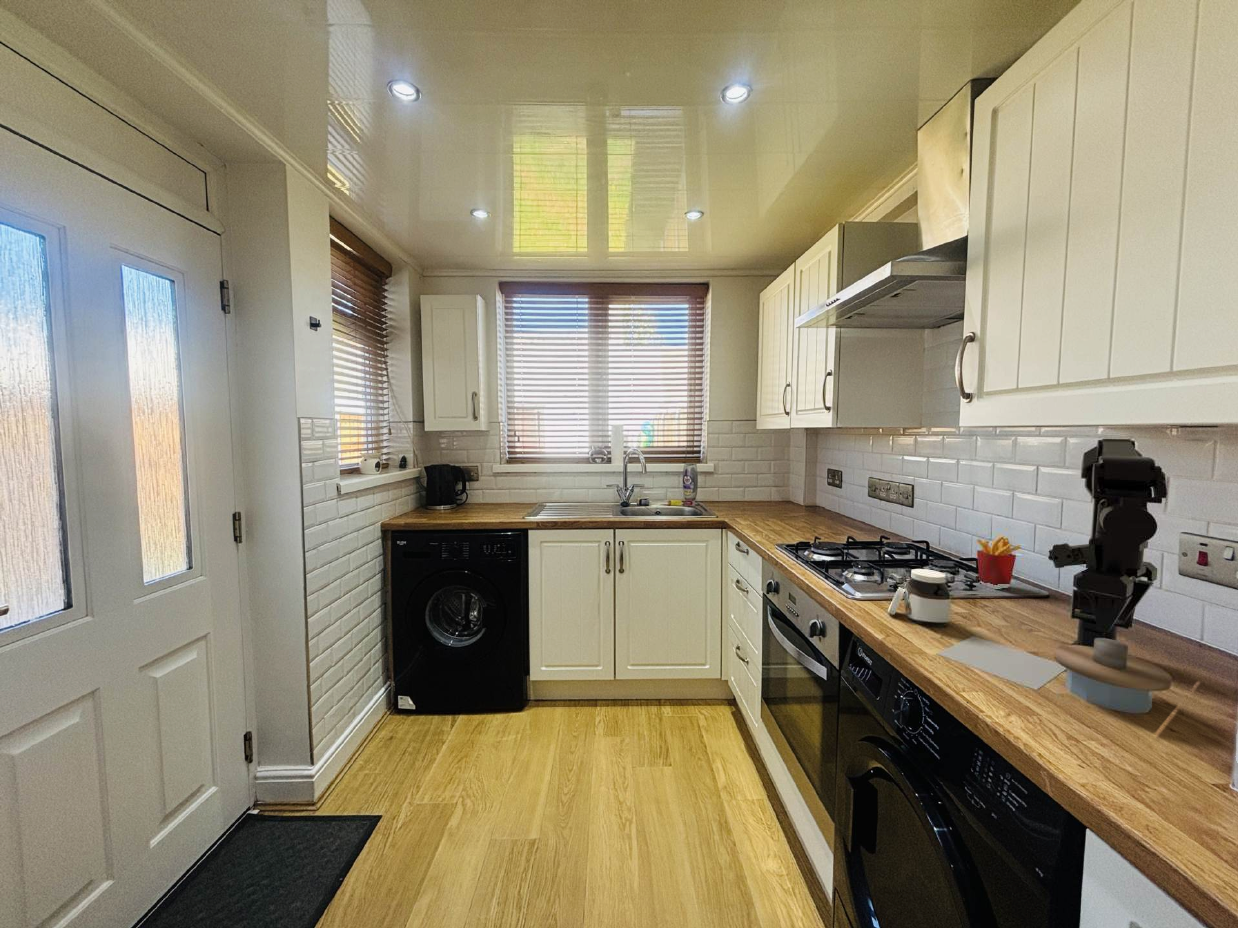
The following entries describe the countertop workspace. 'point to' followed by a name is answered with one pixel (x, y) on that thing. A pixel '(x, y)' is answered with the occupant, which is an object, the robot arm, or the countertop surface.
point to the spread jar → (924, 598)
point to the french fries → (996, 561)
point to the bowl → (1109, 694)
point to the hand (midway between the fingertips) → (1112, 625)
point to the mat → (1004, 662)
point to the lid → (1112, 665)
